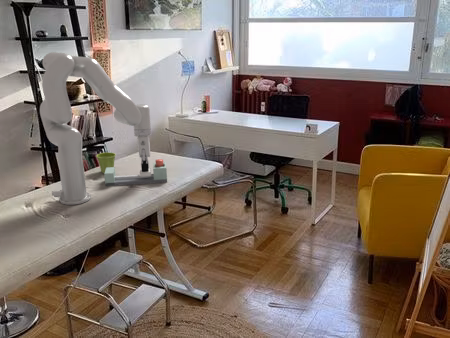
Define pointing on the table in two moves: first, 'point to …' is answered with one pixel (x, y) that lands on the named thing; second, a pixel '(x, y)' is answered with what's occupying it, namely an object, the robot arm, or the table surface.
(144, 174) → the carriage
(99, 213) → the table surface
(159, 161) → the button
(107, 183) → the rail track
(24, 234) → the table surface
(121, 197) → the table surface
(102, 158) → the plant pot
